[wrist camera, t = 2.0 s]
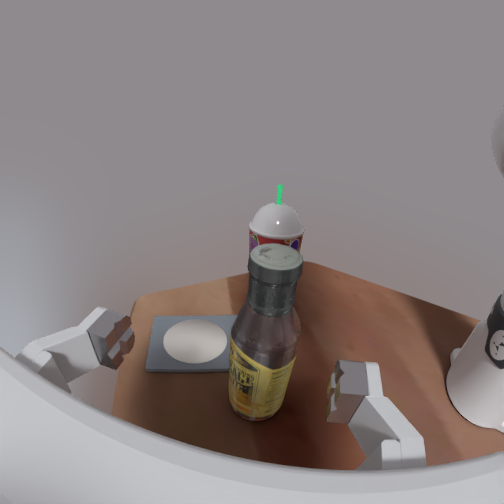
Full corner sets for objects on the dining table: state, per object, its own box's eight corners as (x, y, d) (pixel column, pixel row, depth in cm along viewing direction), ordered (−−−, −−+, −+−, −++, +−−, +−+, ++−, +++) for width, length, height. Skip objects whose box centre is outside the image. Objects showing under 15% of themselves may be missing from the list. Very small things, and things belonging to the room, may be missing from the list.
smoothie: (303, 305, 49) (321, 190, 40) (264, 322, 44) (276, 195, 36) (273, 283, 55) (283, 177, 46) (235, 295, 50) (240, 181, 42)
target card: (237, 317, 45) (237, 314, 45) (245, 370, 35) (245, 366, 35) (155, 318, 43) (154, 315, 43) (145, 371, 33) (144, 368, 33)
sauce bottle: (222, 388, 32) (221, 236, 23) (270, 378, 34) (291, 231, 25) (238, 432, 27) (246, 278, 18) (291, 418, 29) (331, 267, 20)
